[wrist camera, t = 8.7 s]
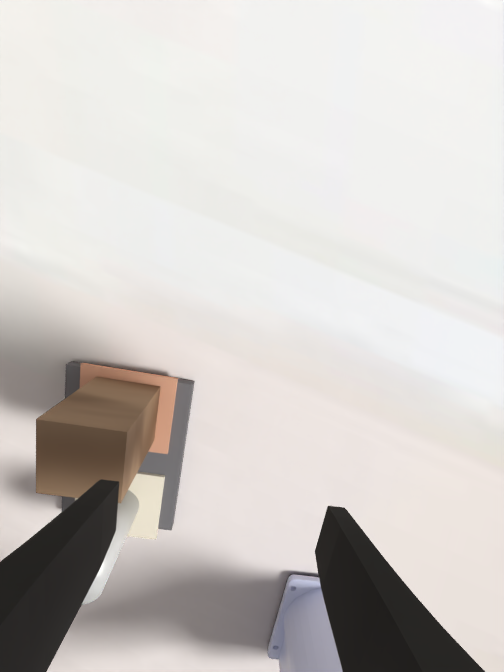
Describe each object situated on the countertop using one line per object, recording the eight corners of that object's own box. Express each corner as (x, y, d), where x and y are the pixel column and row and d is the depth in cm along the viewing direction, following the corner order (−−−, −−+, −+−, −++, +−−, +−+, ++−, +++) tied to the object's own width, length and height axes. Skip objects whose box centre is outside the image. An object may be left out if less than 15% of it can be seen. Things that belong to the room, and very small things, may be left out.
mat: (172, 531, 21) (169, 541, 20) (66, 518, 20) (59, 528, 19) (195, 376, 18) (192, 381, 17) (72, 357, 17) (64, 361, 16)
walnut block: (154, 440, 18) (120, 503, 13) (93, 431, 18) (36, 492, 13) (160, 386, 17) (127, 432, 12) (96, 376, 17) (36, 419, 12)
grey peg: (137, 523, 19) (101, 607, 14) (95, 518, 19) (45, 601, 14) (141, 489, 19) (105, 566, 14) (97, 484, 18) (45, 559, 14)
